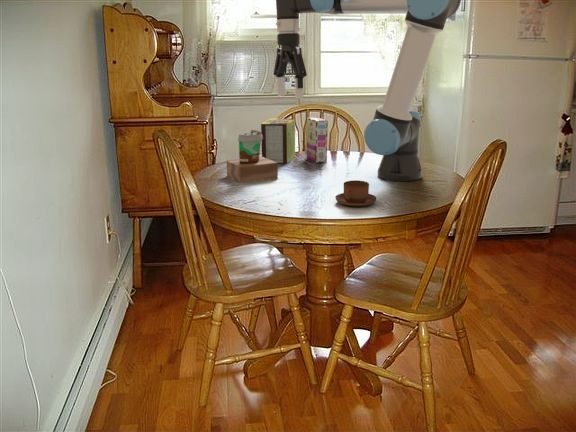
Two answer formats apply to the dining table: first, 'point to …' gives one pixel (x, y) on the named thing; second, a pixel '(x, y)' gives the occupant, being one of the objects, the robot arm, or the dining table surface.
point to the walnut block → (252, 170)
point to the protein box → (278, 140)
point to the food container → (249, 147)
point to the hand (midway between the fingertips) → (290, 97)
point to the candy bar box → (317, 140)
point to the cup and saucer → (356, 194)
